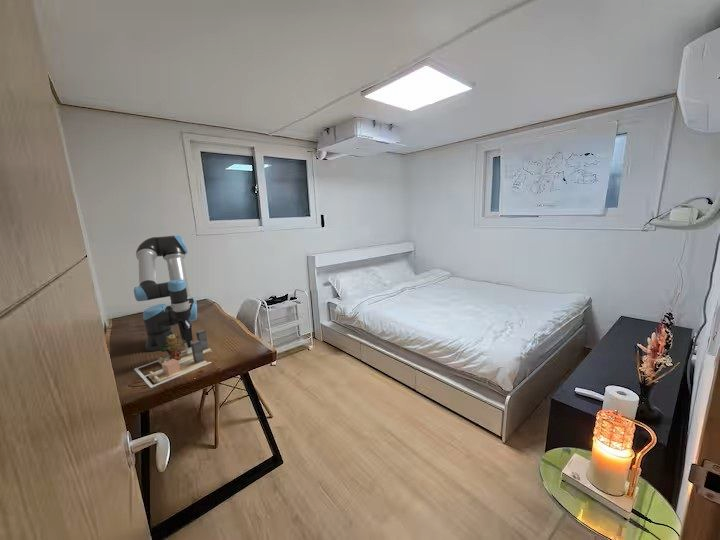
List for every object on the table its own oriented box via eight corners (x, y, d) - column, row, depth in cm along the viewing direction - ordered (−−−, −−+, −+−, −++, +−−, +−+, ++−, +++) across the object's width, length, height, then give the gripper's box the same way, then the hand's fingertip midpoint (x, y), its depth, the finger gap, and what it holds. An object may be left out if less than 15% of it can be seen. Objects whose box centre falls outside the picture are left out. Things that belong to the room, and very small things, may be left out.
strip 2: (148, 378, 132) (143, 356, 130) (199, 358, 148) (195, 338, 146) (156, 386, 125) (151, 363, 123) (208, 364, 141) (204, 343, 139)
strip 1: (158, 363, 146) (153, 343, 143) (203, 346, 162) (200, 328, 160) (165, 369, 139) (161, 348, 136) (212, 351, 155) (209, 332, 153)
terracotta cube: (163, 373, 133) (161, 363, 132) (174, 368, 138) (172, 358, 137) (169, 376, 131) (167, 365, 130) (180, 370, 135) (178, 360, 134)
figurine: (185, 357, 151) (182, 330, 148) (181, 364, 144) (177, 336, 141) (165, 359, 148) (161, 332, 145) (160, 367, 141) (156, 338, 138)
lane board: (134, 371, 139) (133, 368, 139) (190, 350, 158) (190, 348, 158) (151, 390, 122) (150, 387, 122) (211, 364, 141) (211, 362, 141)
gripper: (168, 309, 148) (177, 352, 153) (178, 314, 140) (186, 359, 144) (184, 305, 154) (192, 346, 159) (194, 309, 145) (202, 353, 150)
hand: (189, 352), depth 151 cm, fingers closed
